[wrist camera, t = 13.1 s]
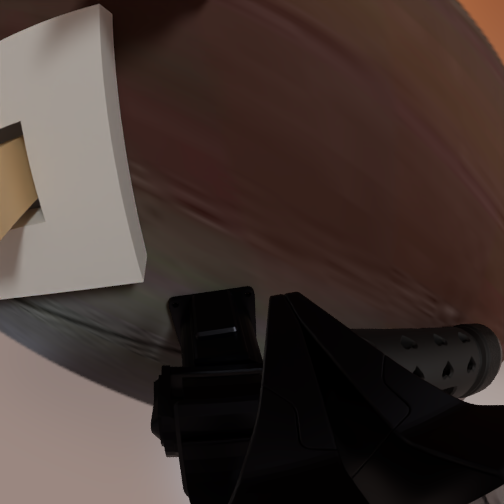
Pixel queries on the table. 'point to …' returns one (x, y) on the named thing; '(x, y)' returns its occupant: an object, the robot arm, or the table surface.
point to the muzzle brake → (443, 354)
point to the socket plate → (68, 160)
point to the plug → (14, 183)
